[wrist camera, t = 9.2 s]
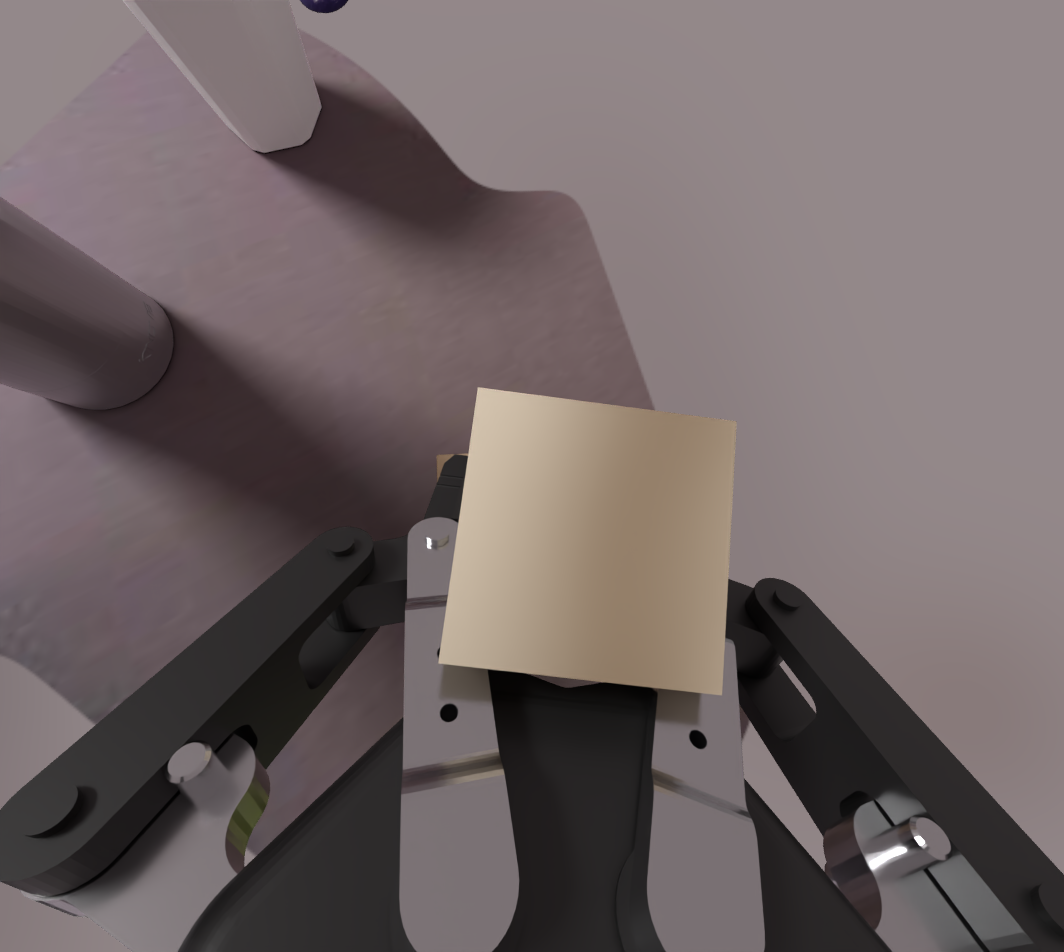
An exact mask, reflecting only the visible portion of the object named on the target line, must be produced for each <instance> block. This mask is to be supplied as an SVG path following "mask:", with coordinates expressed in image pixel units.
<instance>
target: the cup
mask: <svg viewBox="0 0 1064 952" xmlns="http://www.w3.org/2000/svg"><path fill="white" fill-rule="evenodd" d="M122 1H123V2H124V3H125V5H126V6H127V7H128V8H129V9H130V10H131V12H132V13H133V14H134V15H135V17H136V18H137V19H138V20H139V21H140V23H142V25H143V26H144V27H145V28H146V30H147V31H148V32H149V33H150V35H151V36H152V37H153V38H154V39H155V41H156V42H157V43H158V44H159V45H160V46H161V48H162V49H163V50H164V51H165V52H166V54H167V55H168V56H169V57H170V58H171V60H172V61H173V62H174V63H175V64H176V66H177V67H178V68H179V69H180V70H181V72H182V73H183V74H184V75H185V76H186V78H187V79H188V80H189V81H190V82H191V84H192V85H193V86H194V87H195V88H196V89H197V91H198V92H199V93H200V94H201V95H202V97H203V98H204V99H205V100H206V101H207V103H208V104H209V105H210V106H211V107H212V109H213V110H214V111H215V112H216V113H217V115H218V116H219V117H220V118H221V119H222V121H223V122H224V123H225V124H226V125H227V126H228V127H229V128H230V129H231V130H232V131H233V132H234V133H235V134H236V135H237V136H238V137H239V138H240V139H241V140H243V141H244V142H245V143H246V144H247V145H248V146H249V147H250V148H251V149H252V150H255V151H259V152H263V153H266V152H270V151H275V150H280V149H285V148H289V147H294V146H299V145H302V144H303V143H304V142H306V141H307V140H308V139H309V138H311V135H312V132H313V129H314V127H315V124H316V121H317V118H318V116H319V113H320V110H321V107H322V106H321V103H320V99H319V95H318V92H317V89H316V86H315V83H314V79H313V76H312V73H311V70H310V66H309V63H308V60H307V57H306V54H305V50H304V47H303V44H302V41H301V37H300V34H299V31H298V28H297V25H296V22H295V18H294V15H293V12H292V9H291V5H290V2H289V0H122Z"/></svg>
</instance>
